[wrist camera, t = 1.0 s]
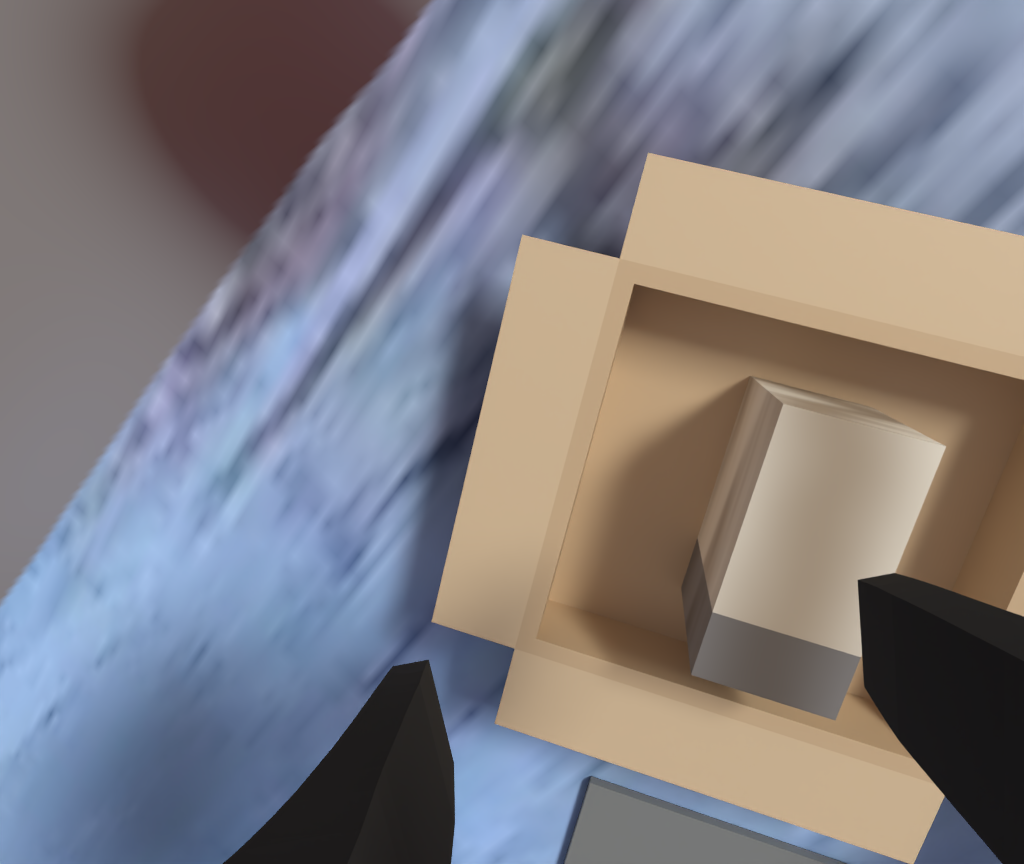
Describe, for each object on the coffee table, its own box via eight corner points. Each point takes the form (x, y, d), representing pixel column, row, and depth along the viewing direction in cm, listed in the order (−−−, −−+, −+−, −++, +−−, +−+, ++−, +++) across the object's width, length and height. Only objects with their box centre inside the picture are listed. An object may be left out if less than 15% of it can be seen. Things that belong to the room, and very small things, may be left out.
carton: (1208, 298, 21) (1314, 300, 18) (962, 818, 26) (1009, 897, 22) (560, 152, 24) (546, 130, 20) (441, 647, 28) (414, 696, 25)
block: (871, 407, 23) (946, 446, 17) (791, 621, 25) (835, 720, 19) (750, 375, 24) (783, 403, 18) (681, 587, 26) (690, 674, 20)
